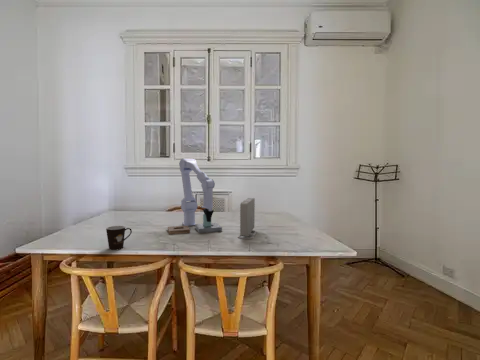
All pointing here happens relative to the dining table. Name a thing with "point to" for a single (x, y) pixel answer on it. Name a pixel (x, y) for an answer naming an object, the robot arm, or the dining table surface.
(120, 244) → the coffee mug
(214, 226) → the port plate
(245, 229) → the network device
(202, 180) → the robot arm
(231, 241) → the dining table surface
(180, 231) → the brown square frame
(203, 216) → the plug
